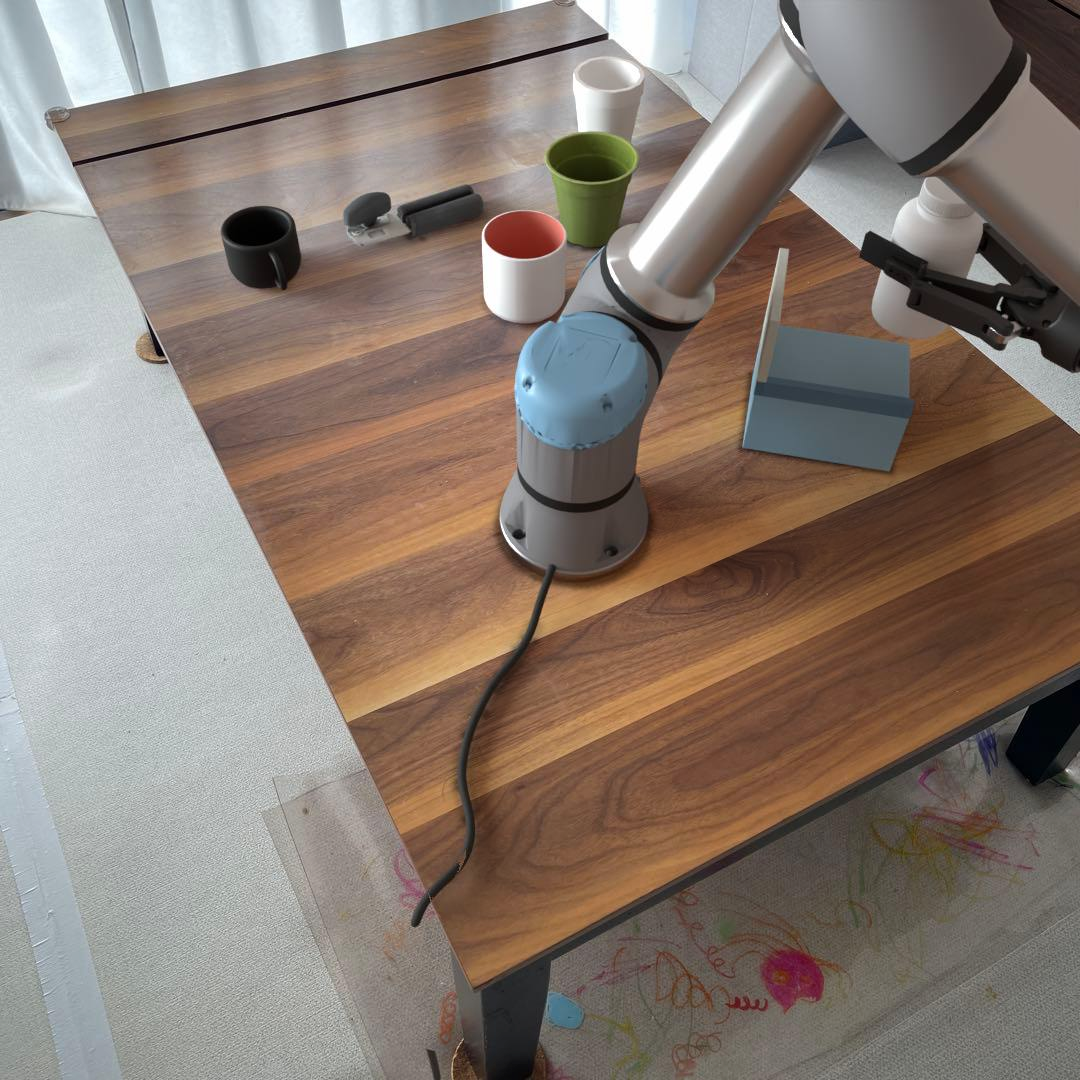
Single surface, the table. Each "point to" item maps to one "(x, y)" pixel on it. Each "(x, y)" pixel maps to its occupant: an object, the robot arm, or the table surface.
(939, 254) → the pill bottle
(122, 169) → the table surface
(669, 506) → the table surface
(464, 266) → the table surface
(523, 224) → the cup
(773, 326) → the bookend
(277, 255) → the mug
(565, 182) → the plant pot
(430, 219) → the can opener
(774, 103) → the robot arm
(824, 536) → the table surface
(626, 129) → the foam cup
